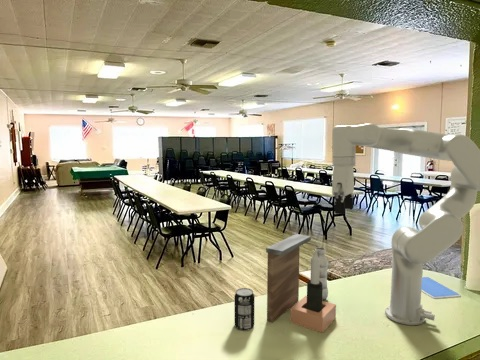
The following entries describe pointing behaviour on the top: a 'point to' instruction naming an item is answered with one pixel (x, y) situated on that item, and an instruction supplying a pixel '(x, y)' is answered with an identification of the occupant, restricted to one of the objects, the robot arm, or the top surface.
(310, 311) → the socket block
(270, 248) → the brown board grey top
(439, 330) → the top surface
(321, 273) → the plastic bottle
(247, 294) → the beverage can
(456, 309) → the top surface
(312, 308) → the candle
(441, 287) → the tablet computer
